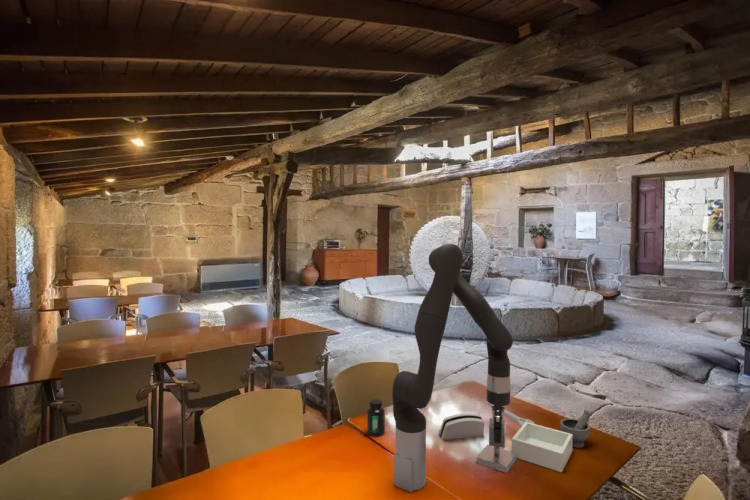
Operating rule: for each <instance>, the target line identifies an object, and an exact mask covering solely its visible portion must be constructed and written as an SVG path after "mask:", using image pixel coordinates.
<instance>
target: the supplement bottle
mask: <svg viewBox="0 0 750 500" xmlns="http://www.w3.org/2000/svg"><path fill="white" fill-rule="evenodd" d="M385 426H386V411H385V408H384V407H383V400H382V399H379V398H372V399H371V400H369V407H368V408H367V410H366V432H367V434H368V435H369V436H371V437H381V436H383V435H384V434H385V431H386V427H385Z"/></svg>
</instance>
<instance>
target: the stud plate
mask: <svg viewBox="0 0 750 500" xmlns="http://www.w3.org/2000/svg"><path fill="white" fill-rule="evenodd" d="M517 459H518V458H517V454H516V453H513V452H512V451H510V450H506V449H503V448H502V447H497V446H490V445H489V444H486V446H485V447H484V448H483V449H482V450H481V451H480V452H479V453H478V455H477V456H476V462H475V463H476V464H479V465H481V466H484V467H488V468H491V469H494V470H497V471H498V472H501V473H505V474H507V473H508V472H509V470H510V469H511V467H512V466H513V465H514V463H515V462H516V461H517Z"/></svg>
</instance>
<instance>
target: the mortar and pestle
mask: <svg viewBox="0 0 750 500" xmlns="http://www.w3.org/2000/svg"><path fill="white" fill-rule="evenodd" d="M592 415H593V412H591V411H590V410H588V409H584V410H583V413H582V415H581V416H580V418H578V419H575V418H562V419H561V420H560V421H559V427H560V428H559V429H560V431H562V432H566V433H570V434H573V446H572V448H573V447H574V448H576V449H577V448H584V446H585V441H586V440H587V439H588V438H589V436H590V434H591V427H590V425H589V423H588V422H589V420H590V419H591V418H590V417H592Z"/></svg>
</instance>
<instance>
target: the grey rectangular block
mask: <svg viewBox="0 0 750 500" xmlns="http://www.w3.org/2000/svg"><path fill="white" fill-rule="evenodd" d="M488 424H489V425H488V429H489V430H488V445H490V446H497V447H500V448H505V447H506V446H505V439H506V438H505V436H506V435H505V430H506V429H505V428H506V427H505V424H506V423H505V419H503V425H502V433H501V443H495V442H494V431H493V428H494V424H493V423H492V417H490V418H489V423H488ZM495 428H500V427H497V426H496V427H495Z"/></svg>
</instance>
